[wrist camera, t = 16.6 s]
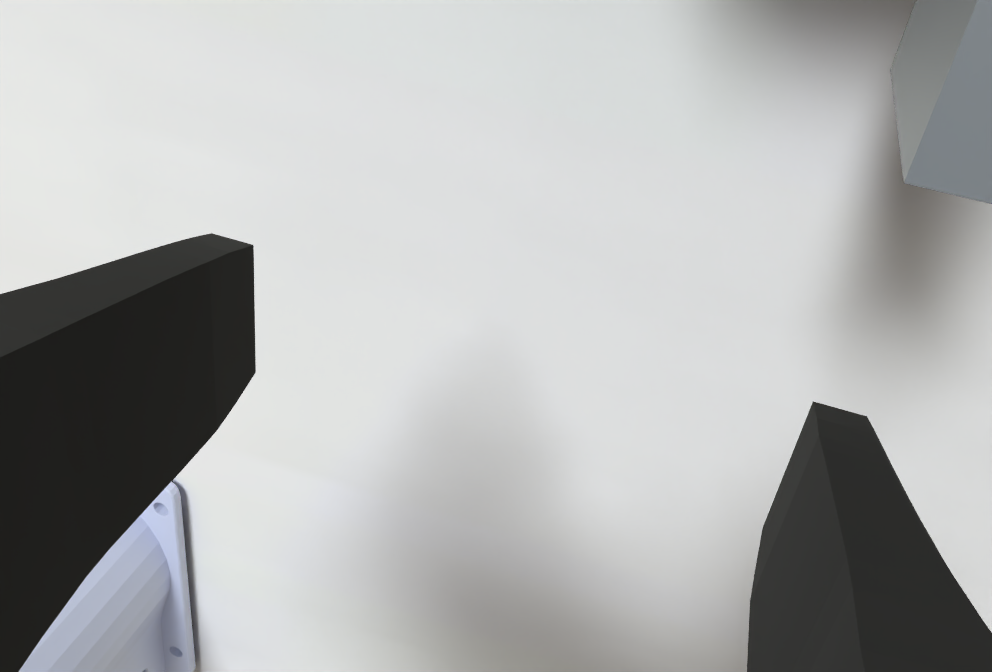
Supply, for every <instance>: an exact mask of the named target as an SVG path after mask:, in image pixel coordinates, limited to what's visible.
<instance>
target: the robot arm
mask: <svg viewBox="0 0 992 672" xmlns="http://www.w3.org/2000/svg"><path fill="white" fill-rule="evenodd" d="M254 374H255V314H254V255H253V245H251V244H247V243H244V242H240V241H237V240H233V239H229V238H226V237H222V236H219V235H215V234H207V235H202V236H197V237H193V238H189V239H185V240H181V241H178V242H174V243H171V244H167V245H164V246H160V247H157V248H154V249H151V250H147V251H144V252H141V253H138V254H135V255H131V256H128V257H125V258H122V259H119V260H115V261H112V262H109V263H106V264H103V265H99V266H96V267H93V268H90V269H87V270H83V271H80V272H77V273H74V274H71V275H67V276H64V277H61V278H57V279H54V280H50V281H47V282H43V283H39V284H36V285H32V286H29V287H25V288H21V289H18V290H14V291H10V292H7V293H3V294H0V672H194V670H195V667H196V665H195V653H194V642H193V631H192V619H191V608H190V597H189V586H188V574H187V563H186V552H185V541H184V529H183V518H182V507H181V495H180V492H179V489H178V488H177V486H176V485H175V484H174V483H173V482H172V480H173V479H174V478H175V477H176V476H177V475H178V474H179V473H180V471H181V470H182V469H183V468H184V467H185V466H186V465H187V464H188V462H189V461H190V460H191V459H192V458H193V457H194V456H195V455H196V454H197V452H198V451H199V450H200V449H201V448H202V447H203V446H204V445H205V443H206V442H207V441H208V440H209V439H210V438H211V436H212V435H213V434H214V433H215V432H216V431H217V429H218V428H219V427H220V425H221V424H222V422H223V421H224V419H225V418H226V417H227V415H228V414H229V412H230V411H231V409H232V408H233V406H234V405H235V404H236V402H237V400H238V399H239V397H240V396H241V394H242V393H243V391H244V390H245V388H246V386H247V385H248V383H249V382H250V380H251V379H252V377H253V375H254ZM747 672H992V633H991V631H990V630H989V629H988V627H987V626H986V624H985V623H984V621H983V620H982V619H981V617H980V616H979V614H978V613H977V611H976V610H975V608H974V606H973V605H972V603H971V602H970V600H969V599H968V597H967V596H966V594H965V593H964V591H963V590H962V588H961V587H960V585H959V584H958V582H957V581H956V579H955V578H954V576H953V575H952V573H951V571H950V570H949V568H948V567H947V565H946V563H945V562H944V560H943V558H942V557H941V555H940V553H939V551H938V550H937V548H936V546H935V544H934V543H933V541H932V539H931V537H930V536H929V534H928V532H927V530H926V529H925V527H924V525H923V523H922V522H921V520H920V518H919V516H918V514H917V513H916V511H915V509H914V507H913V505H912V503H911V501H910V500H909V498H908V496H907V494H906V492H905V490H904V488H903V486H902V484H901V482H900V480H899V478H898V476H897V475H896V473H895V471H894V469H893V467H892V465H891V463H890V461H889V459H888V457H887V455H886V453H885V451H884V449H883V447H882V445H881V443H880V441H879V439H878V437H877V435H876V433H875V431H874V429H873V427H872V425H871V423H870V421H869V420H868V418H867V416H863V415H859V414H856V413H852V412H849V411H845V410H841V409H838V408H834V407H831V406H827V405H824V404H820V403H816V402H813V403H812V406H811V408H810V411H809V413H808V416H807V418H806V421H805V423H804V426H803V428H802V431H801V433H800V436H799V438H798V441H797V443H796V446H795V448H794V451H793V453H792V456H791V458H790V461H789V463H788V466H787V468H786V471H785V473H784V476H783V478H782V481H781V483H780V486H779V488H778V491H777V493H776V496H775V498H774V501H773V503H772V506H771V508H770V511H769V514H768V516H767V519H766V521H765V524H764V526H763V530H762V535H761V541H760V547H759V552H758V558H757V563H756V569H755V575H754V581H753V588H752V594H751V600H750V617H749V639H748V663H747Z"/></svg>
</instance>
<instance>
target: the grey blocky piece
mask: <svg viewBox="0 0 992 672" xmlns="http://www.w3.org/2000/svg"><path fill="white" fill-rule="evenodd" d="M890 71H891V80H892V88H893V97H894V105H895V114H896V123H897V131H898V140H899V148H900V157H901V165H902V174H903V183H905V184H909V185H914V186H918V187H922V188H926V189H930V190H935V191H939V192H943V193H947V194H952V195H956V196H960V197H964V198H968V199H973V200H977V201H981V202H985V203H989V204H992V0H916V2H915V4H914V7H913V10H912V13H911V15H910V18H909V21H908V23H907V26H906V29H905V32H904V34H903V37H902V40H901V42H900V45H899V48H898V50H897V53H896V56H895V59H894V61H893V64H892V67H891V69H890Z"/></svg>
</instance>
